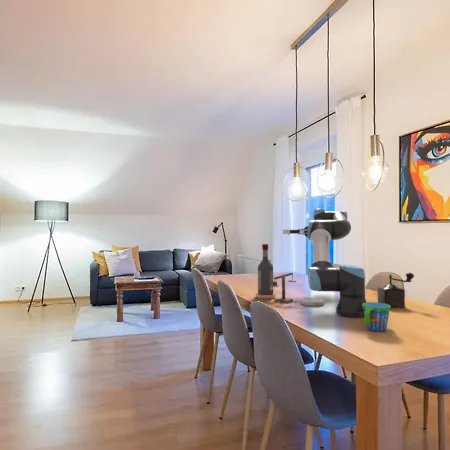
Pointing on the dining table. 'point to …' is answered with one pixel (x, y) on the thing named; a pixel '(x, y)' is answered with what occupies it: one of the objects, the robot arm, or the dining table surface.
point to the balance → (283, 288)
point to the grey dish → (312, 302)
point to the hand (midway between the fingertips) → (291, 231)
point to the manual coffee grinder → (393, 293)
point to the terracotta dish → (265, 296)
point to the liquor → (265, 274)
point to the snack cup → (376, 315)
